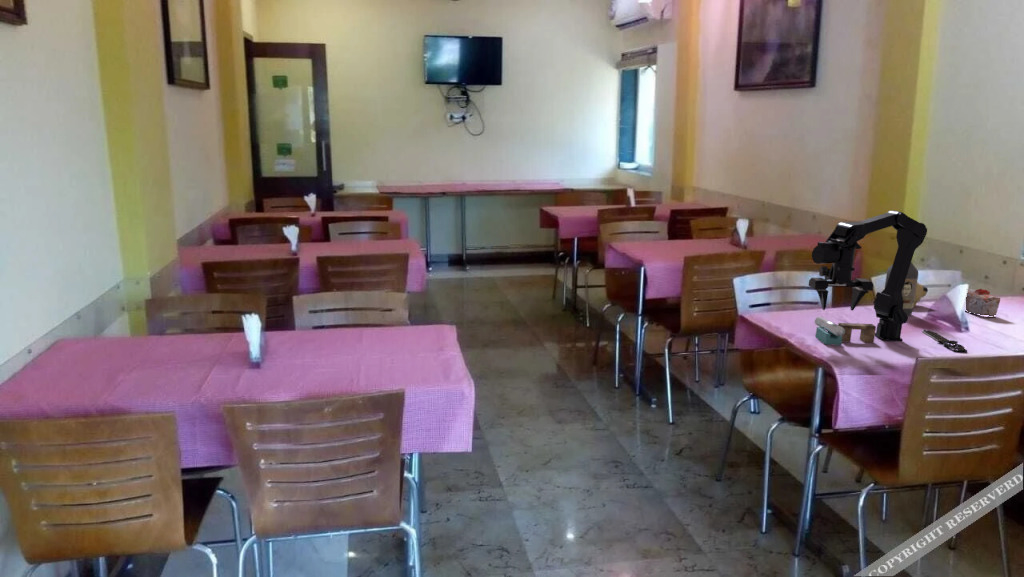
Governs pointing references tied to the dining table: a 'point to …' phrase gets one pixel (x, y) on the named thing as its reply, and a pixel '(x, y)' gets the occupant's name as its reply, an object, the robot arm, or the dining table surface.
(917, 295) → the tan rounded piece
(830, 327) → the axle
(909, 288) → the liquor
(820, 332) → the cradle
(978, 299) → the food item
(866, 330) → the wooden bridge block
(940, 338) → the knife
